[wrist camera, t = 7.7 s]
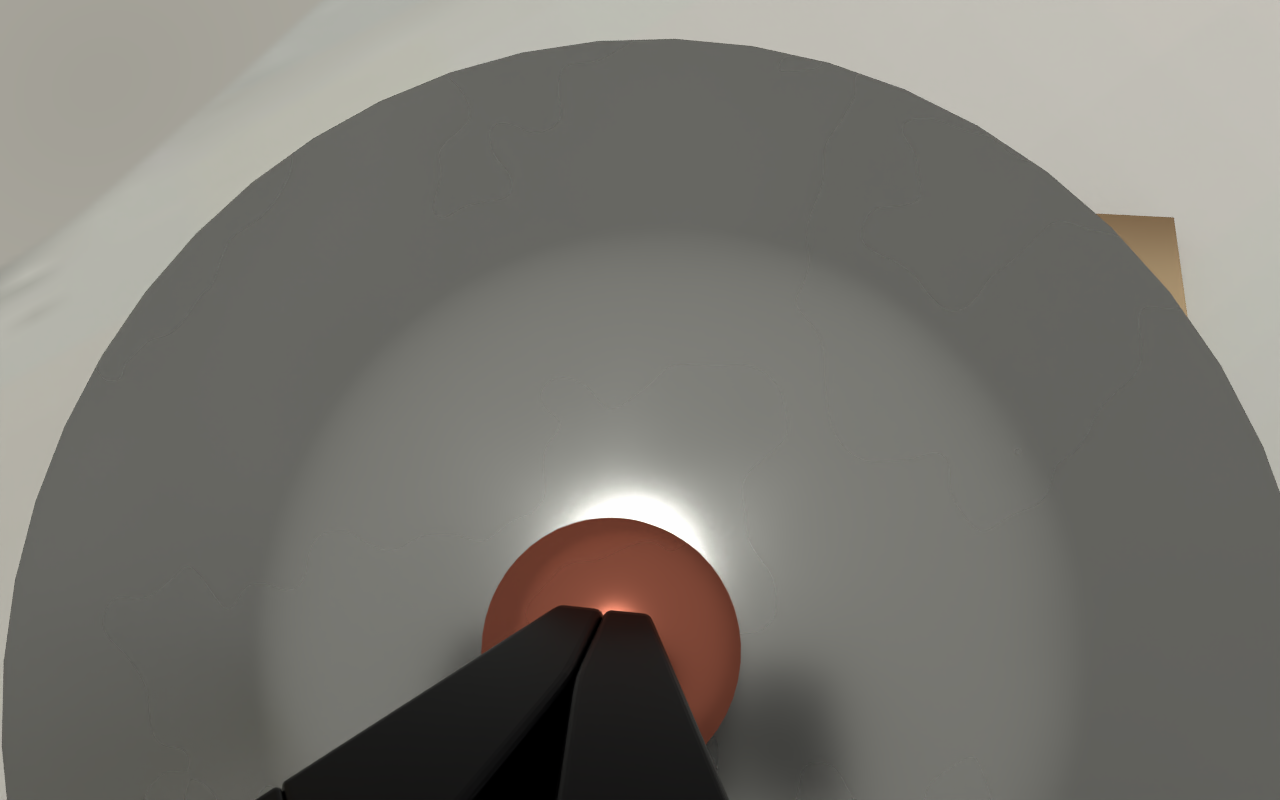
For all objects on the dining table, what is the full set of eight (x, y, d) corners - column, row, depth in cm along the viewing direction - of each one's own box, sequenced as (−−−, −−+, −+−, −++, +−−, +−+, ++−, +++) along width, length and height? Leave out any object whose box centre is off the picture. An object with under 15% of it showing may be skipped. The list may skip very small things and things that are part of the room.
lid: (1259, 1435, 9) (1371, 1623, 7) (-22, 1186, 10) (-162, 1298, 9) (1250, 115, 11) (1335, 36, 9) (185, 74, 12) (104, 1, 11)
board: (1375, 1840, 12) (1404, 1884, 11) (-90, 1490, 14) (-121, 1513, 14) (1163, 233, 22) (1173, 217, 22) (331, 189, 25) (322, 174, 24)
